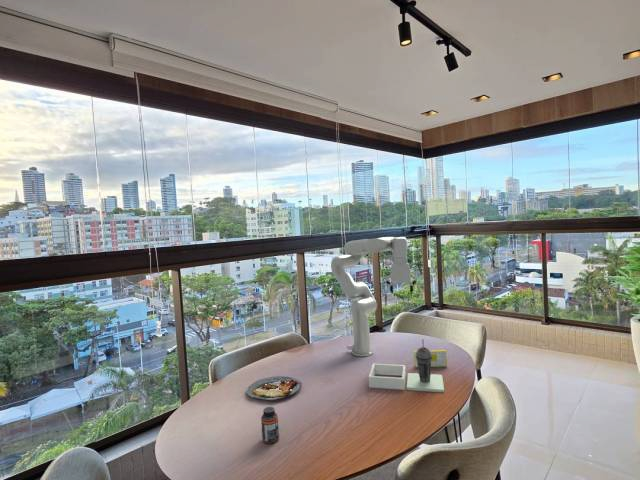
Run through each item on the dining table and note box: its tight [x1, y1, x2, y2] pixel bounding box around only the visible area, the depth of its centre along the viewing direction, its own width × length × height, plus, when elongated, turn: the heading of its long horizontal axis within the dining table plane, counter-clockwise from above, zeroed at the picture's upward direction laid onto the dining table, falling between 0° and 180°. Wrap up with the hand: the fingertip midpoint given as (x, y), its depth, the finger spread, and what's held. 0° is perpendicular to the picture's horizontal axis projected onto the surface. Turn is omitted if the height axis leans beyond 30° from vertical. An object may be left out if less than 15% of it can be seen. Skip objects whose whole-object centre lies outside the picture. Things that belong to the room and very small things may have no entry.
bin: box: [368, 363, 407, 391], centre depth 173 cm, size 16×16×5 cm
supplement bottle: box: [260, 406, 280, 445], centre depth 130 cm, size 6×6×11 cm
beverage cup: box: [416, 338, 432, 383], centre depth 168 cm, size 7×7×20 cm
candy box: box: [413, 349, 448, 368], centre depth 188 cm, size 16×2×8 cm, turn 84°
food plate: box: [246, 375, 302, 401], centre depth 170 cm, size 25×23×4 cm
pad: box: [406, 372, 445, 393], centre depth 169 cm, size 16×16×1 cm
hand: (401, 293), depth 190 cm, fingers open, 9 cm apart
